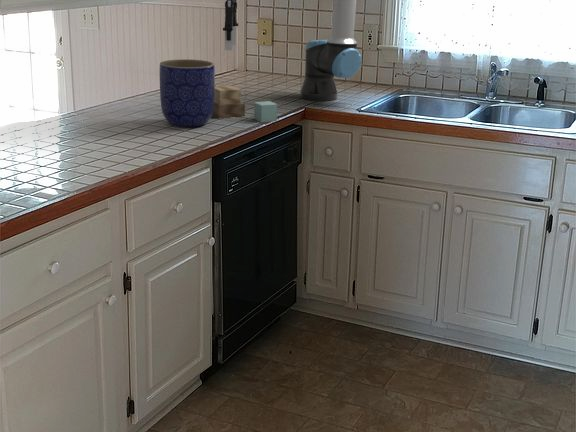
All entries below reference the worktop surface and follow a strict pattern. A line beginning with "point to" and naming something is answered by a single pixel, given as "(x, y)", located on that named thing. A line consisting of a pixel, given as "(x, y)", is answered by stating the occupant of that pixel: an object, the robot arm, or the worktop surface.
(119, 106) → the worktop surface
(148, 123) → the worktop surface
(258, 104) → the teal cube
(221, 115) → the tower base
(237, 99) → the tower top
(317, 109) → the worktop surface
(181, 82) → the planter
